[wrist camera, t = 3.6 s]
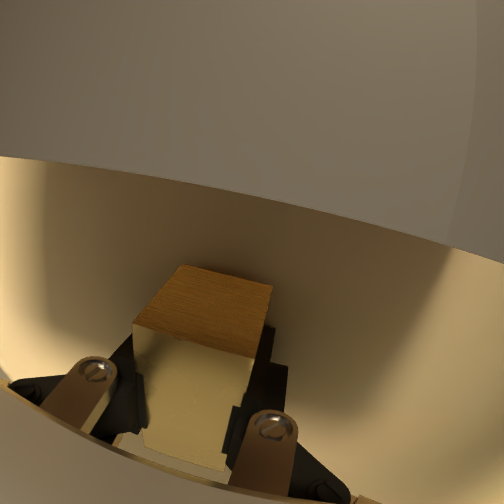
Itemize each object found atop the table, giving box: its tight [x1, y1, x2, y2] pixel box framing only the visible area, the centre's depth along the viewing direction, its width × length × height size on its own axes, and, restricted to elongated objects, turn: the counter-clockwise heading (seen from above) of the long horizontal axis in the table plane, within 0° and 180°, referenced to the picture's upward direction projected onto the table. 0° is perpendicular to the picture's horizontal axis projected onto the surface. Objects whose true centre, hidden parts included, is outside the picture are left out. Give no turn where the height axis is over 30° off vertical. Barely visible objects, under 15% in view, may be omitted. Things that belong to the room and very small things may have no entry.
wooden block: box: [132, 264, 273, 472], centre depth 10 cm, size 3×6×4 cm, turn 168°
